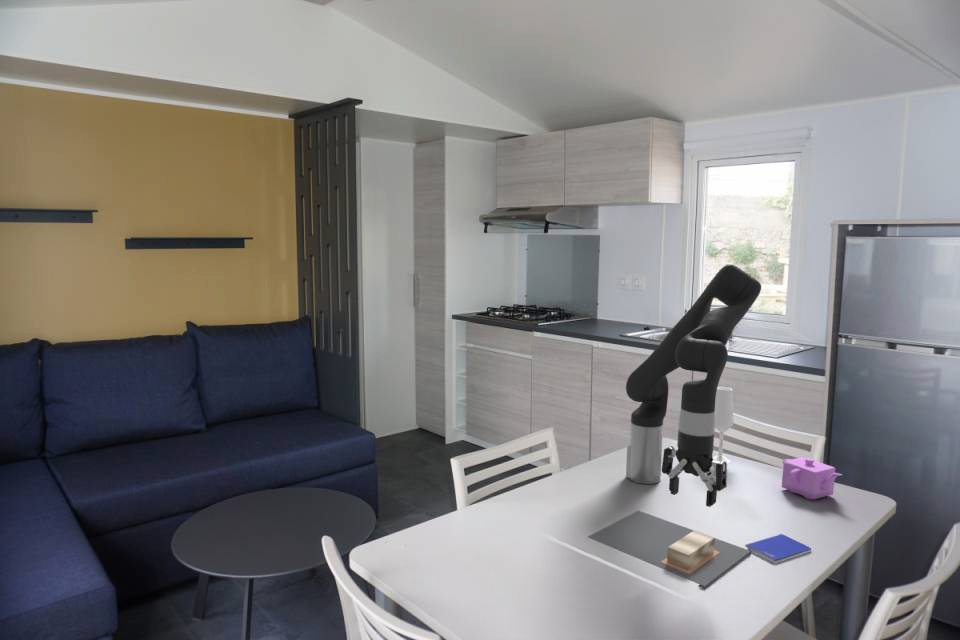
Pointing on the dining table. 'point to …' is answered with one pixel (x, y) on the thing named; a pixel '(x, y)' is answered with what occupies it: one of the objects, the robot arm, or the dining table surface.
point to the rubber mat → (656, 535)
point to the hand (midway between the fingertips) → (691, 499)
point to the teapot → (808, 477)
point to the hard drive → (778, 548)
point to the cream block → (690, 550)
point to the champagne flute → (723, 417)
